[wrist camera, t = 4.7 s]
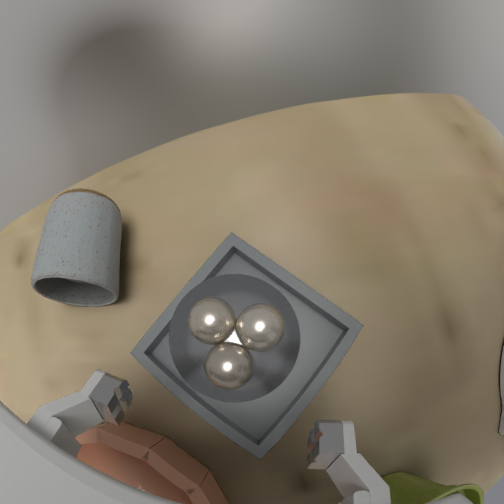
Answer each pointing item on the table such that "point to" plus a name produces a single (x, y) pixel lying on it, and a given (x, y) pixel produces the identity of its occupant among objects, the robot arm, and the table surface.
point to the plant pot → (426, 490)
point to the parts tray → (300, 378)
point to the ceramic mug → (80, 250)
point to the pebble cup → (234, 338)
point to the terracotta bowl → (148, 463)
